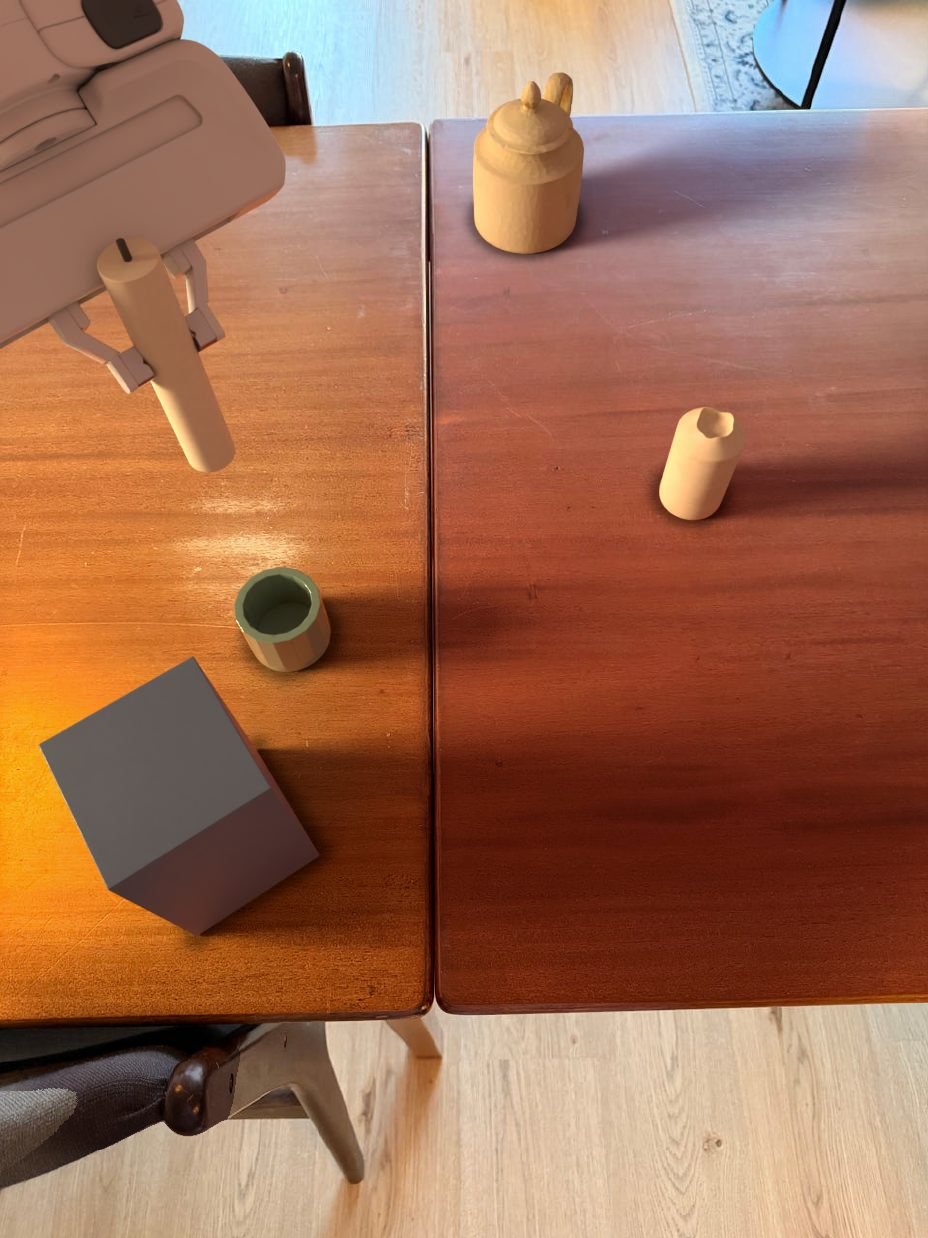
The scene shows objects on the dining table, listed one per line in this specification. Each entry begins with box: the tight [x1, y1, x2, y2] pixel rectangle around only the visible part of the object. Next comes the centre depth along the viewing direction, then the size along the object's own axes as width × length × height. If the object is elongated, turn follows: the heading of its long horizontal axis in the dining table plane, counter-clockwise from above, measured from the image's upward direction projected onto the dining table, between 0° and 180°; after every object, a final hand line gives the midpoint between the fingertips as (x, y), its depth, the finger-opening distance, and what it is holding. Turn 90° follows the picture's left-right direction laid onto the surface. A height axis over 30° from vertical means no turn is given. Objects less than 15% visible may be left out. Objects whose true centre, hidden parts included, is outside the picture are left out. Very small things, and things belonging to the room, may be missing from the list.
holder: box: [233, 566, 332, 673], centre depth 72 cm, size 7×7×6 cm
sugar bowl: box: [472, 71, 585, 255], centre depth 91 cm, size 15×11×15 cm
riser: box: [38, 656, 320, 937], centre depth 59 cm, size 10×10×17 cm
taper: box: [97, 238, 236, 474], centre depth 46 cm, size 3×3×15 cm
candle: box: [659, 406, 747, 521], centre depth 76 cm, size 6×6×10 cm
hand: (177, 365), depth 46 cm, fingers closed on taper, 3 cm apart
